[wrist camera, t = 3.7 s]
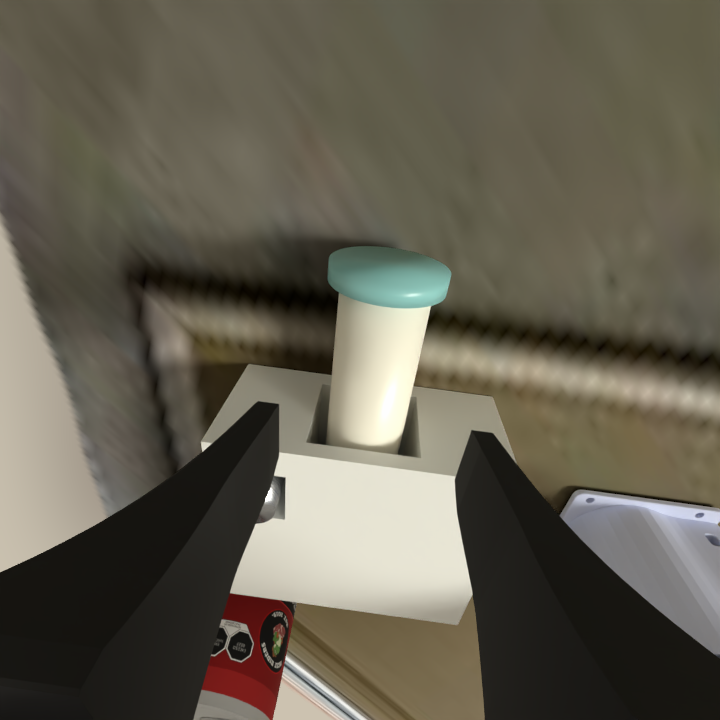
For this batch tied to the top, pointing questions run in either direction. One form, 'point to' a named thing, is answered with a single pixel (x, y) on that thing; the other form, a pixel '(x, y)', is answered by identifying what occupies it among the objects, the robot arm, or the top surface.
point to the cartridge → (378, 341)
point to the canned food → (247, 660)
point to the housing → (361, 503)
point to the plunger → (271, 500)
